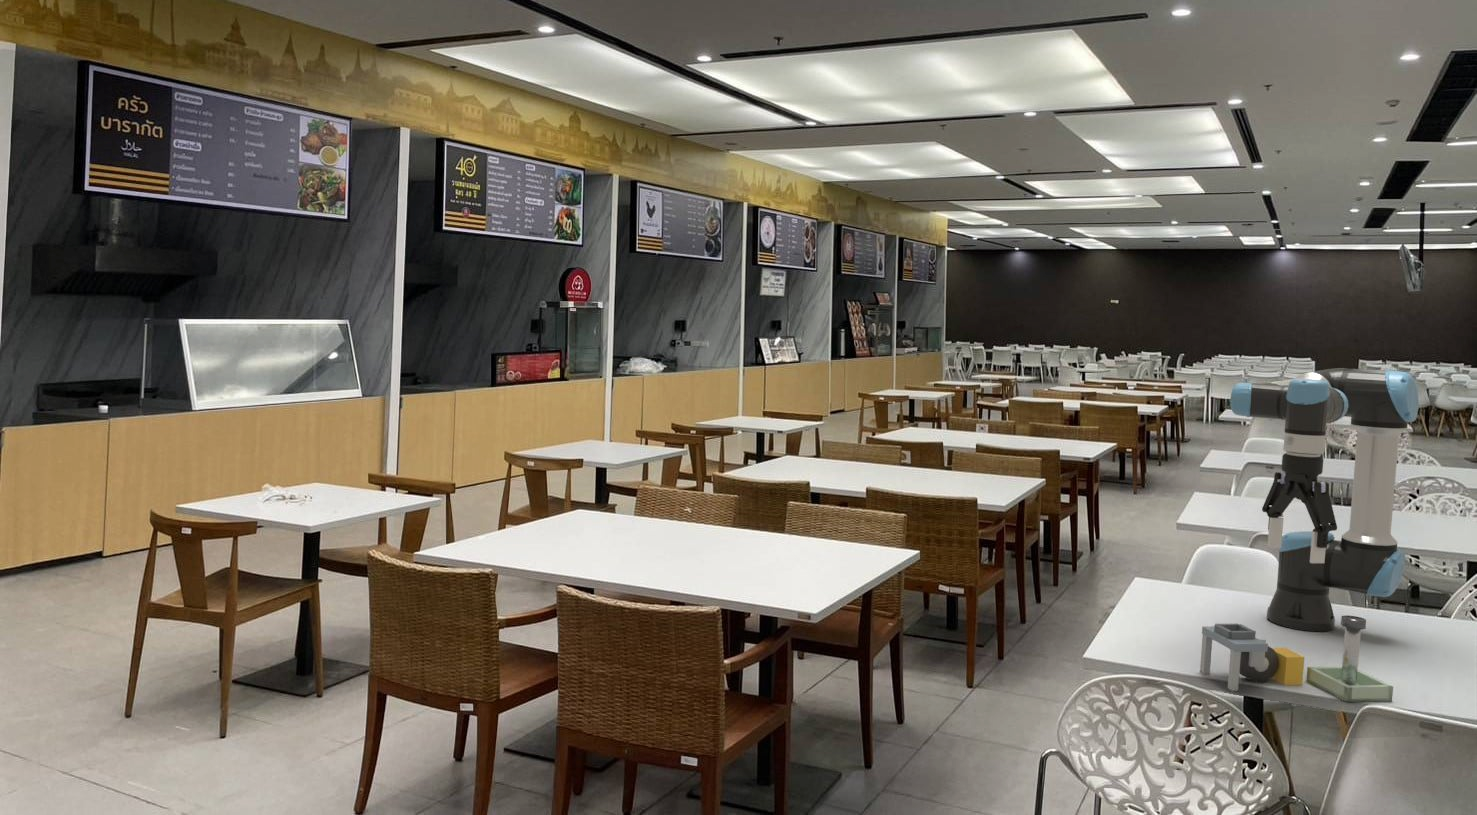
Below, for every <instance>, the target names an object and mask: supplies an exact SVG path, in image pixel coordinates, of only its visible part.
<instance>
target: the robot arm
mask: <svg viewBox="0 0 1477 815" xmlns="http://www.w3.org/2000/svg"><path fill="white" fill-rule="evenodd" d="M1419 401H1420V400H1419V391H1418V386H1417V382H1416V381H1415V379H1414V377H1413V376H1412V375H1411V374H1409V373H1408V372H1405V371H1397V370H1391V369H1364V368H1362V369H1360V368H1349V367H1348V368H1346V367H1345V368H1344V367H1342V368H1341V367H1337V368H1327V369H1323V370H1315V371H1310V372H1305V373H1301V374H1300V375H1298V376H1297V377H1295V378H1291V379H1284V380H1279V381H1278V380H1277V381H1271V382H1263V383H1262V382H1261V383H1256V382H1255V383H1254V382H1238V383H1236V384H1235V385H1234V386H1233V388H1232V390H1231V392H1230V401H1229V404H1230V409H1231V412H1232V413H1233V414H1234V415H1236V416H1241V417H1246V418H1261V419H1271V420H1273V419H1274V420H1280V421H1281V420H1282V421H1283V420H1284V423H1285V424H1284V437H1283V438H1284V439H1283V447H1282V450H1283V451H1284V453H1283V454H1282V456H1281V470H1282V472H1275V473H1274V477H1273V482H1272V485H1271V486H1270V490H1269V492H1268V494H1267V496H1266V498H1265V501H1264V503H1263V505H1262V510H1261V511H1262V512H1263V513H1265V514H1266V515H1267V517H1268V523H1267V524H1268V525H1267V531H1268V534H1267V548H1269V549H1278V555H1279V556H1278V567H1277V568H1278V570H1277V581H1276V589H1275V592H1274V594H1273V596H1272V599H1271V601H1270V604H1269V606H1268V607H1267V611H1266V619H1267V620H1268V619H1269V620H1270V621H1269V620H1268V621H1269V622H1271V621H1272V622H1271V623H1273V622H1274V623H1273V624H1275V623H1277V624H1276V625H1278V624H1279V626H1281V625H1282V627H1285V628H1289V629H1294V630H1301V631H1309V632H1326V631H1327V632H1328V631H1333V630H1334V629H1335V624H1336V623H1335V622H1336V618H1335V616H1334V610H1333V607H1332V604H1331V603H1332V602H1331V599H1330V588H1331V589H1337V590H1343V591H1347V592H1352V593H1358V594H1363V595H1367V596H1369V597H1370V596H1374V597H1381V598H1387V597H1388V598H1389V597H1390V596H1392V595H1393V594H1394V593H1395V591H1396V590H1397V588H1398V586H1399V585H1400V582H1401V580H1402V578H1403V574H1404V569H1405V565H1406V564H1405V563H1406V559H1405V558H1406V554H1405V552H1403V551H1402V550H1400V549H1398V541H1397V540H1396V538H1394V537H1393V536H1392V521H1393V510H1394V509H1393V508H1394V501H1395V500H1394V498H1395V489H1396V488H1395V487H1396V477H1397V475H1396V474H1397V464H1398V463H1397V462H1398V451H1399V444H1400V443H1399V441H1400V436H1401V434H1403V432H1405V431H1406V430H1408V424H1409V423H1414V422H1415V421H1416V420H1417V418H1418V415H1419V414H1418V411H1419V408H1420V404H1419ZM1344 417H1350V426H1351V427H1352V428H1353V429H1354V430H1355V431H1356V445H1355V455H1354V456H1355V458H1354V469H1353V470H1354V471H1353V478H1352V479H1353V483H1352V493H1351V494H1352V496H1351V504H1350V517H1349V518H1350V520H1349V529H1348V530H1347V531H1346V532H1345V533H1343V534H1341V539H1340V540H1341V541H1340V540H1335V538H1336V537H1335V535H1334V534H1333V533H1332V532H1333V531H1337V530H1338V526H1337V522H1336V517H1335V513H1334V508H1333V504H1332V501H1331V497H1330V484H1329V482H1327V481H1318V476H1319V475H1320V476H1321V475H1322V474H1323V471H1324V469H1323V468H1324V458H1323V456H1321V455H1324V454H1325V448H1326V432H1327V431H1326V430H1327V424H1332V423H1335V422H1337V421H1340V420H1341V419H1342V418H1344ZM1285 452H1286V453H1285ZM1294 499H1297V500H1299V501H1301V503H1303V504H1304V506H1305V507H1306V511H1307V512H1308V515H1309V518H1310V520H1311V521H1312V522H1311V523H1312V525H1313V527H1314V528H1313V529H1312V530H1310V531H1309V530H1307V531H1306V530H1305V531H1293V532H1287V533H1285V534H1283V531H1284V529H1283V527H1284V515H1283V514H1284V512H1285V511H1286V509H1288V507H1289V506H1290V504H1291V503H1292V502H1293V500H1294ZM1331 531H1332V532H1331Z"/></svg>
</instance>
